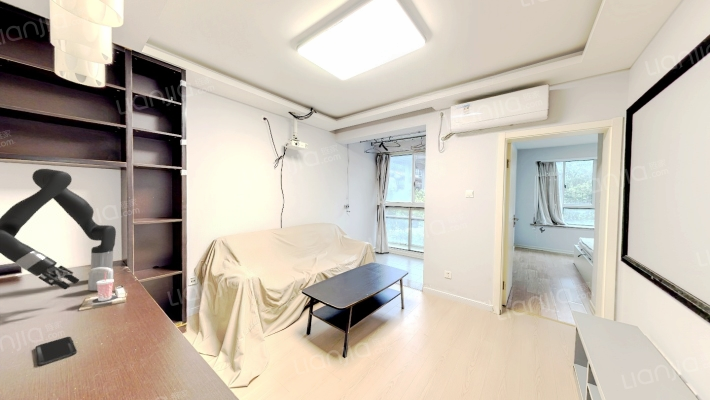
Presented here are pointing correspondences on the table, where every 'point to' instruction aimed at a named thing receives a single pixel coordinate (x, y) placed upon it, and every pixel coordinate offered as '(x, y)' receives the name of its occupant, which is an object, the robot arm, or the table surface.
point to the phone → (54, 351)
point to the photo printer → (98, 276)
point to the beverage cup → (105, 289)
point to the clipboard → (101, 302)
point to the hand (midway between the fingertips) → (72, 284)
